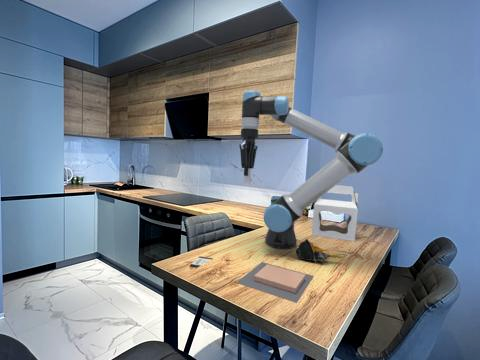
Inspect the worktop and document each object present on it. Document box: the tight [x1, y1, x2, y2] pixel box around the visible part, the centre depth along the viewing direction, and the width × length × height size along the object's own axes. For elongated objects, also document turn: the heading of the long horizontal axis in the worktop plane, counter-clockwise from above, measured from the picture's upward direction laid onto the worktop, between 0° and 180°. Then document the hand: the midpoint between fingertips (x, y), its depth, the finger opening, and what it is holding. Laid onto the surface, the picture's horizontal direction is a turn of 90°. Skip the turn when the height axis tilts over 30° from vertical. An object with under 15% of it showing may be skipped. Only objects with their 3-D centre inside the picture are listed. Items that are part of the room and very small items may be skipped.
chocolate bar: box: [189, 256, 214, 269], centre depth 96 cm, size 9×1×18 cm
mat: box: [235, 261, 315, 304], centre depth 86 cm, size 20×20×1 cm
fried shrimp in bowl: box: [295, 239, 346, 264], centre depth 105 cm, size 9×11×18 cm
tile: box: [254, 263, 306, 293], centre depth 85 cm, size 11×2×14 cm
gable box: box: [311, 184, 359, 242], centre depth 141 cm, size 22×13×28 cm, turn 70°
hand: (246, 183), depth 113 cm, fingers closed
